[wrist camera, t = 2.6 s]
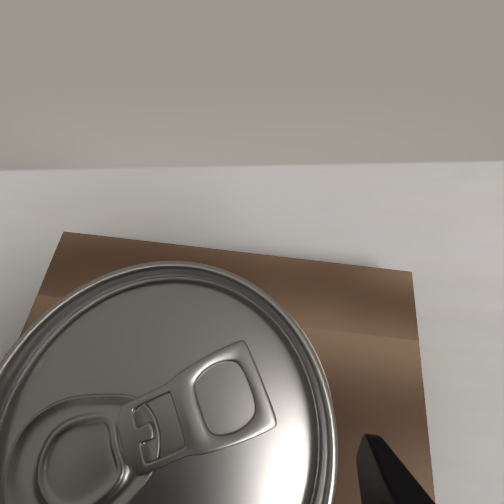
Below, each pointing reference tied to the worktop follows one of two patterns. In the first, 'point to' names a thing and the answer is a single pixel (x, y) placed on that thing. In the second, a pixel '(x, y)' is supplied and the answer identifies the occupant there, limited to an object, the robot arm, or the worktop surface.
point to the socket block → (315, 328)
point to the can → (166, 396)
